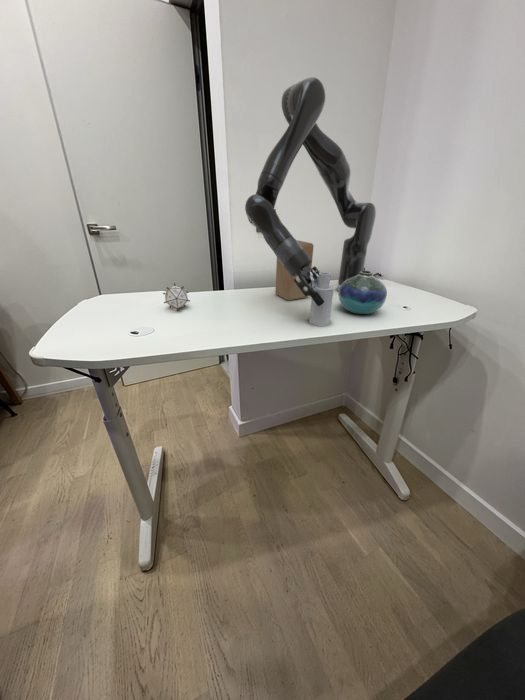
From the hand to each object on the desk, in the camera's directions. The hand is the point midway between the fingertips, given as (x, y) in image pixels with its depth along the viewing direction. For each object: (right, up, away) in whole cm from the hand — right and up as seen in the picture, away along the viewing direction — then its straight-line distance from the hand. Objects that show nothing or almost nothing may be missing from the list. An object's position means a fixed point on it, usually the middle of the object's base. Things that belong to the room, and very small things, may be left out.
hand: (326, 300), depth 86 cm
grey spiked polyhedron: (-48, -1, +12) cm, 49 cm away
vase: (+14, -1, +14) cm, 20 cm away
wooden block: (-7, +6, +28) cm, 29 cm away
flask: (-1, -6, +4) cm, 7 cm away
